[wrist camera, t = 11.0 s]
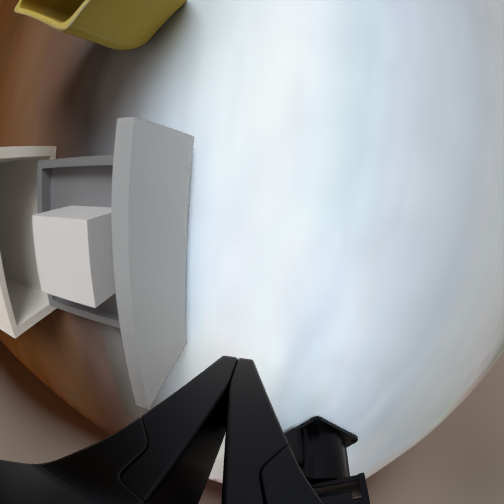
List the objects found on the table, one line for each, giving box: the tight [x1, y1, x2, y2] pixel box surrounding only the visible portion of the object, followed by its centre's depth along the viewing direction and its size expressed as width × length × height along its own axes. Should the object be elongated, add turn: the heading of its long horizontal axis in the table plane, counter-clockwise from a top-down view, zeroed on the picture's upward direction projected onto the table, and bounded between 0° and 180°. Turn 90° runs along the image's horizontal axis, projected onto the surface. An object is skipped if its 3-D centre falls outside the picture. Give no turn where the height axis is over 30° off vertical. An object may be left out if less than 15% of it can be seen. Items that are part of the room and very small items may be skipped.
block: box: [32, 205, 116, 308], centre depth 15 cm, size 5×5×4 cm
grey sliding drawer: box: [37, 117, 194, 409], centre depth 14 cm, size 12×14×7 cm
